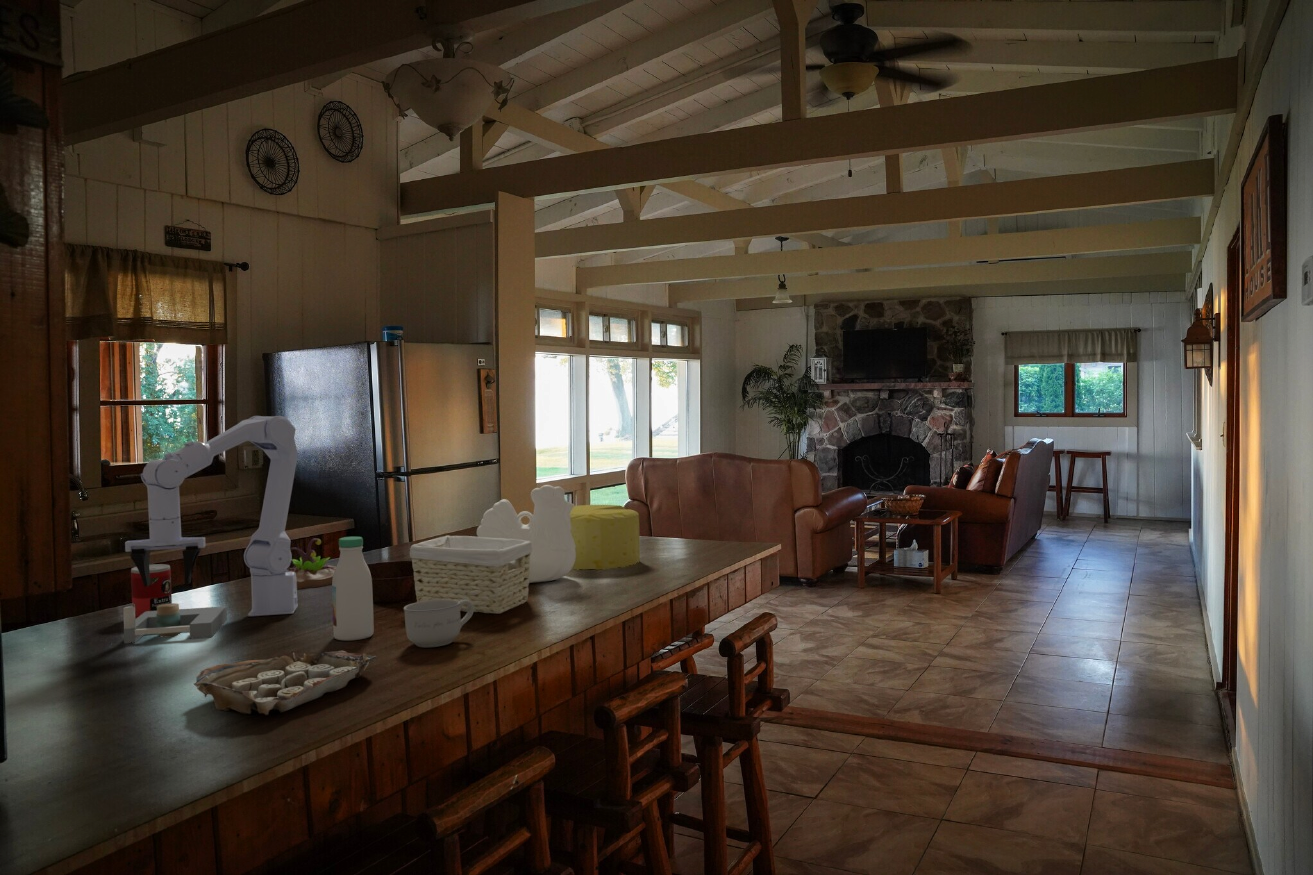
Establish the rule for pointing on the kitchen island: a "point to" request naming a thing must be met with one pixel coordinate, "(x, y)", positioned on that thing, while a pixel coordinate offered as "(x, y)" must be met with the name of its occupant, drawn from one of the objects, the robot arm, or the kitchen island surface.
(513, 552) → the storage basket
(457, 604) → the teacup
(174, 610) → the bobbin
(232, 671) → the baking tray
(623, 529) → the cheese
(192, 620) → the grey u-shaped frame
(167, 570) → the canned food
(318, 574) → the plant
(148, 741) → the kitchen island surface
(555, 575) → the decorative rooster
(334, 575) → the milk bottle
